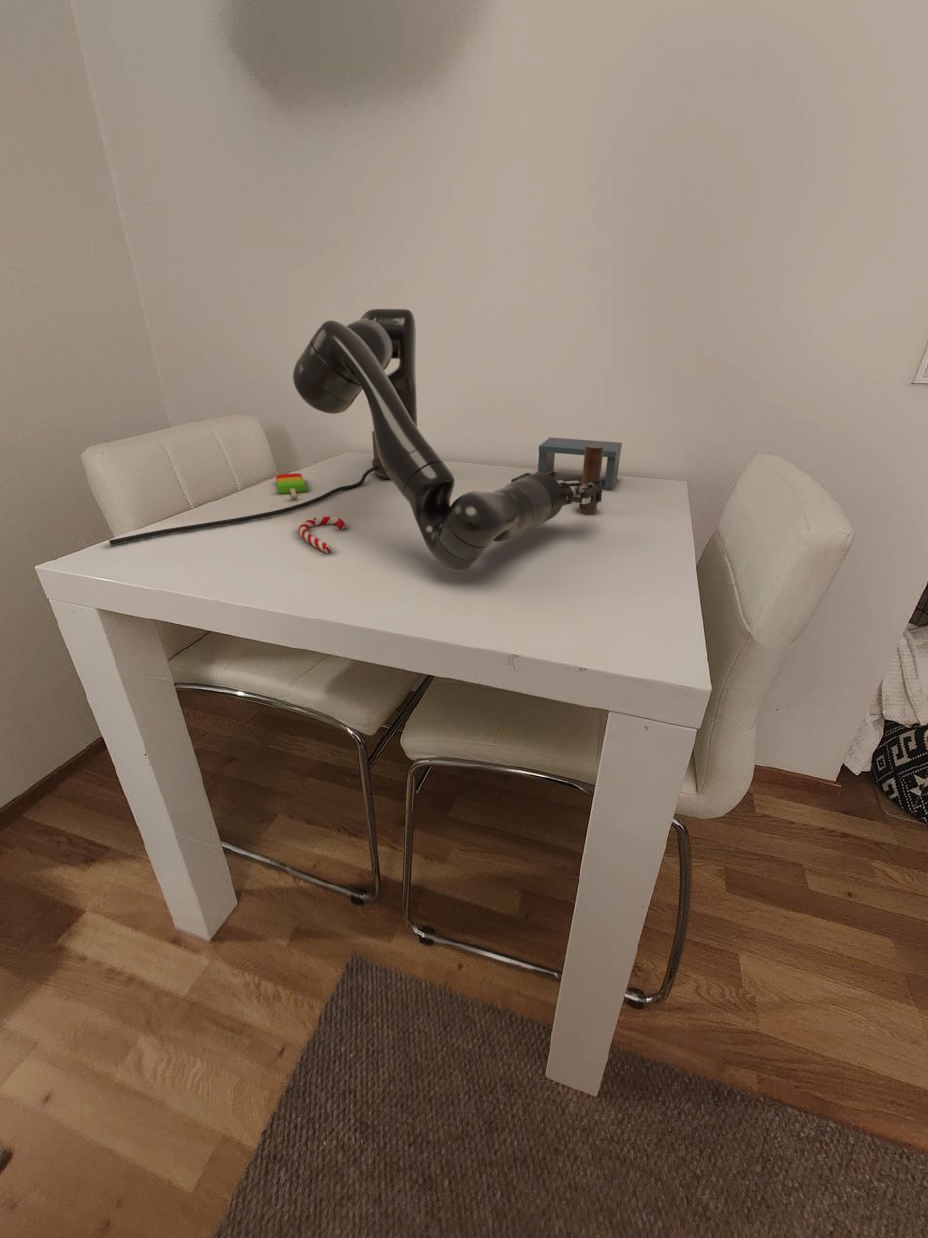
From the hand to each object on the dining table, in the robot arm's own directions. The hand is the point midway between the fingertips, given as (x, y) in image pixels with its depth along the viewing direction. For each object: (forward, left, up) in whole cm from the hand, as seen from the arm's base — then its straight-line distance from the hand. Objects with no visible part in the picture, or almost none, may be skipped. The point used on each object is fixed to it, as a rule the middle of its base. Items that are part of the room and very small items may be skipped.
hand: (575, 480), depth 98 cm
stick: (+6, +2, -7) cm, 10 cm away
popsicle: (-35, +46, -7) cm, 58 cm away
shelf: (+20, +19, -7) cm, 29 cm away
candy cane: (-40, +16, -7) cm, 44 cm away
